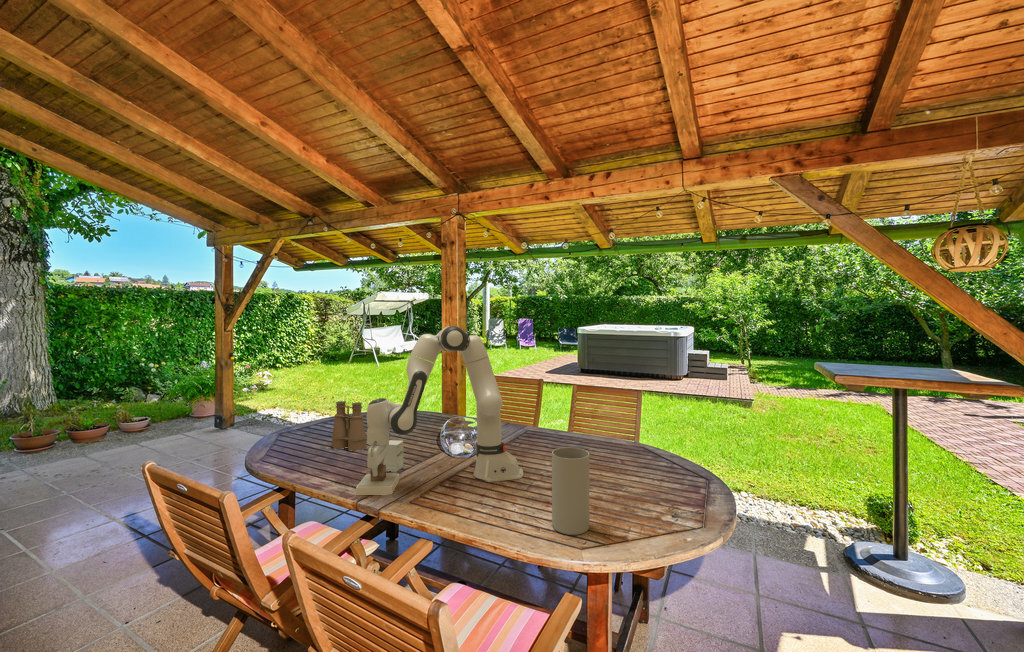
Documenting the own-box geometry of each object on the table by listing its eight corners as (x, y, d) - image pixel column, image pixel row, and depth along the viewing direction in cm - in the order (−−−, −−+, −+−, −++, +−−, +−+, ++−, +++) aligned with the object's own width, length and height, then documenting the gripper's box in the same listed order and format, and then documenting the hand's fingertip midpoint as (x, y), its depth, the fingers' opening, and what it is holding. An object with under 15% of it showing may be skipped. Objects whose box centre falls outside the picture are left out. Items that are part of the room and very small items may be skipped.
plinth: (399, 481, 182) (399, 472, 182) (391, 495, 168) (391, 485, 168) (366, 482, 181) (366, 473, 181) (356, 496, 167) (355, 486, 167)
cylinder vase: (555, 515, 150) (555, 446, 149) (591, 520, 146) (591, 449, 146) (548, 533, 138) (548, 457, 137) (587, 538, 134) (587, 460, 134)
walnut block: (386, 476, 177) (385, 464, 177) (383, 481, 172) (383, 469, 172) (373, 476, 177) (373, 465, 177) (370, 481, 172) (370, 469, 172)
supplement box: (396, 472, 193) (396, 445, 193) (381, 471, 195) (381, 444, 194) (404, 466, 200) (403, 440, 200) (389, 465, 202) (389, 439, 202)
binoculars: (327, 449, 228) (326, 403, 228) (340, 443, 238) (340, 399, 237) (358, 453, 221) (358, 405, 221) (370, 447, 231) (370, 402, 230)
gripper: (379, 445, 164) (379, 480, 164) (391, 431, 184) (391, 463, 185) (363, 446, 164) (363, 481, 164) (376, 432, 184) (376, 463, 184)
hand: (378, 471), depth 174 cm, fingers open, 8 cm apart
